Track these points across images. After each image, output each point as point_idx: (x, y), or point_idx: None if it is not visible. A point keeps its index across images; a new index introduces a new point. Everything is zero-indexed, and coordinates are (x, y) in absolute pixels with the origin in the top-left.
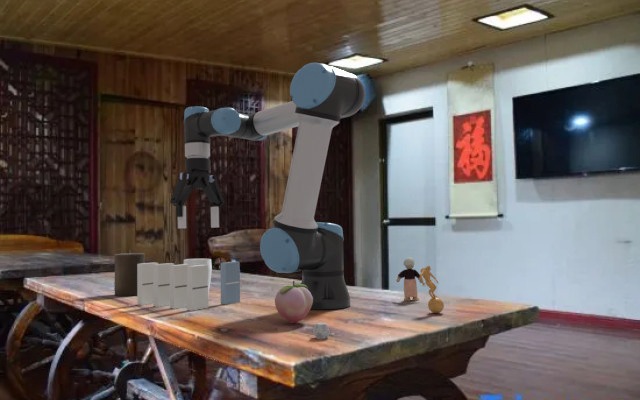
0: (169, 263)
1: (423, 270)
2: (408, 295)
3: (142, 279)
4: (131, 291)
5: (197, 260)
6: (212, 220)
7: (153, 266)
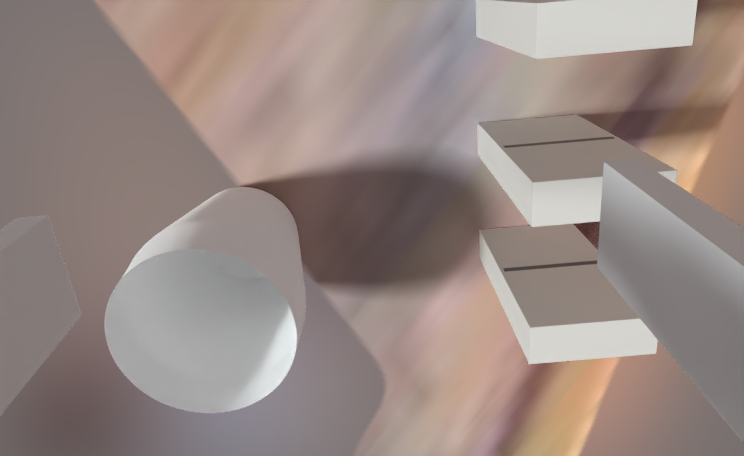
0: (554, 201)
1: None
2: None
3: None
4: None
5: (257, 267)
6: (27, 343)
7: None
